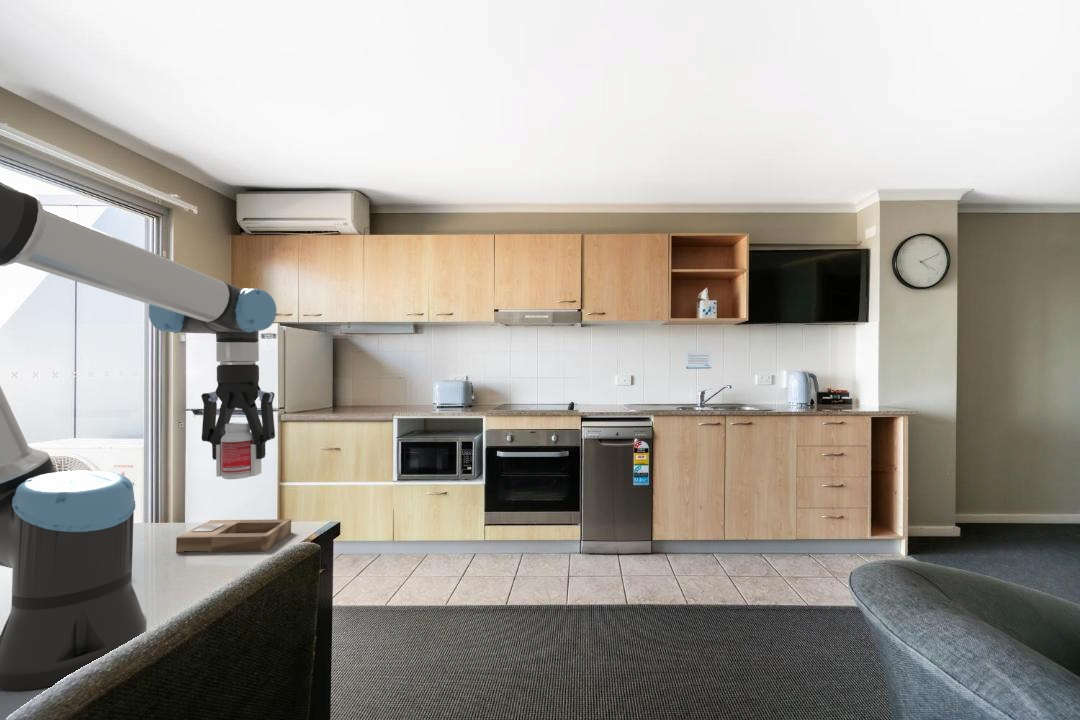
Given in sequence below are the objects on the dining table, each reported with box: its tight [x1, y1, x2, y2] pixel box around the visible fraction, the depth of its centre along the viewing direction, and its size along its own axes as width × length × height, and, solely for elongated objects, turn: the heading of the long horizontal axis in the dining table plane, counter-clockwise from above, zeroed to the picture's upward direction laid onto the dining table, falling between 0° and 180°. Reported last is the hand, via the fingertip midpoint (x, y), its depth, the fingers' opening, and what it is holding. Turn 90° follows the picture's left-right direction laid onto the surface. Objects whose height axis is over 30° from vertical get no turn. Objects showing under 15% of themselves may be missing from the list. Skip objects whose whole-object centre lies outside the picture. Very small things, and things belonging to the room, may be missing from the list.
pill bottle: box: [221, 421, 255, 480], centre depth 103 cm, size 6×6×11 cm
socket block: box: [175, 518, 292, 553], centre depth 110 cm, size 12×18×3 cm, turn 94°
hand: (239, 474), depth 104 cm, fingers closed on pill bottle, 6 cm apart
